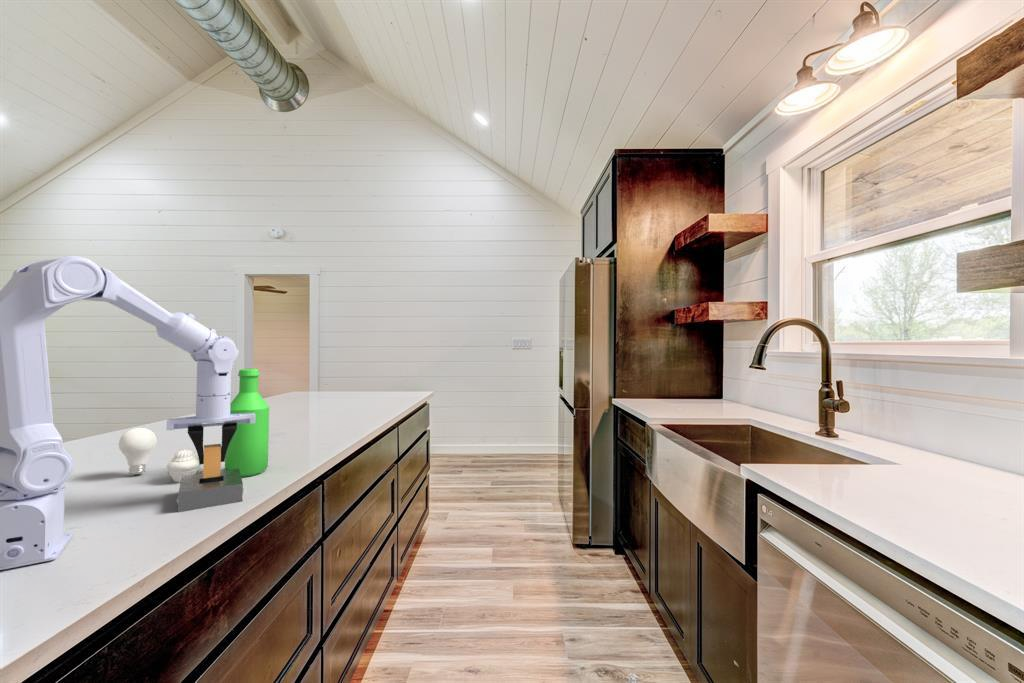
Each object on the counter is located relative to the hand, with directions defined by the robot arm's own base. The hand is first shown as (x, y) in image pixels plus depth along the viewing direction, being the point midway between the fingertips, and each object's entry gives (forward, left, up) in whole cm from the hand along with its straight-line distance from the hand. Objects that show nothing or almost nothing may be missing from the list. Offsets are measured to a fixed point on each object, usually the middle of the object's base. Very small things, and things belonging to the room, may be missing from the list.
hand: (212, 462), depth 85 cm
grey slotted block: (+2, 0, -7) cm, 8 cm away
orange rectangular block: (0, 0, -3) cm, 3 cm away
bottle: (+15, -7, -7) cm, 18 cm away
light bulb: (+26, +14, -7) cm, 30 cm away
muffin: (+16, +5, -7) cm, 18 cm away
